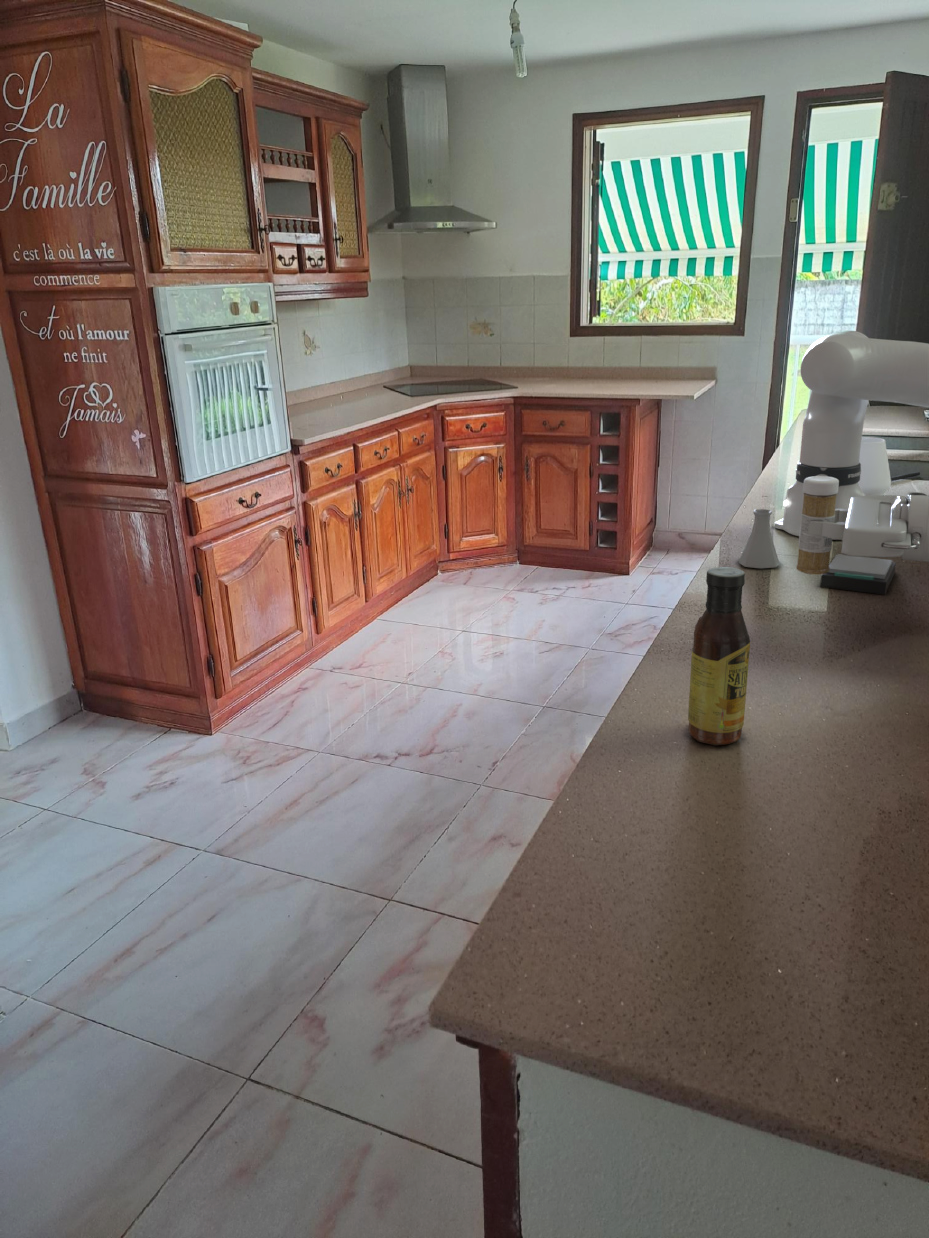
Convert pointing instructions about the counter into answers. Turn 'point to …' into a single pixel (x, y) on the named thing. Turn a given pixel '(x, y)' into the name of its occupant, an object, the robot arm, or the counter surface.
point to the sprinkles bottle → (816, 507)
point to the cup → (874, 467)
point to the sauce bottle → (719, 662)
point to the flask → (760, 543)
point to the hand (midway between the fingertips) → (810, 521)
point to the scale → (859, 574)
